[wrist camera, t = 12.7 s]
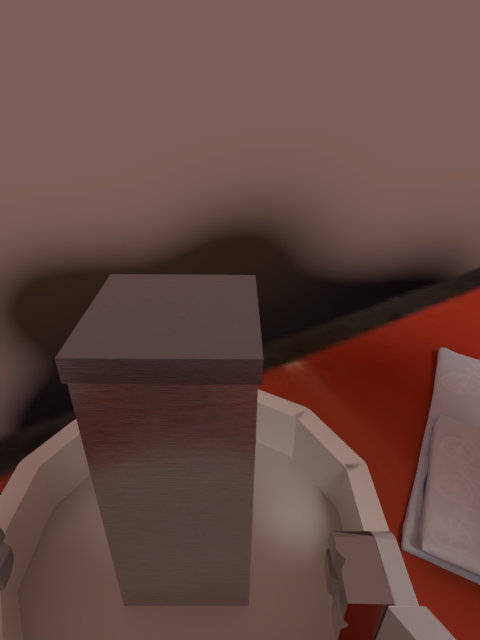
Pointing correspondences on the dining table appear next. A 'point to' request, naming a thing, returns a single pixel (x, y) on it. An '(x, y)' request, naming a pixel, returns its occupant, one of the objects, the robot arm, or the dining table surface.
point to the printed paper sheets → (449, 473)
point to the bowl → (185, 621)
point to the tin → (171, 430)
